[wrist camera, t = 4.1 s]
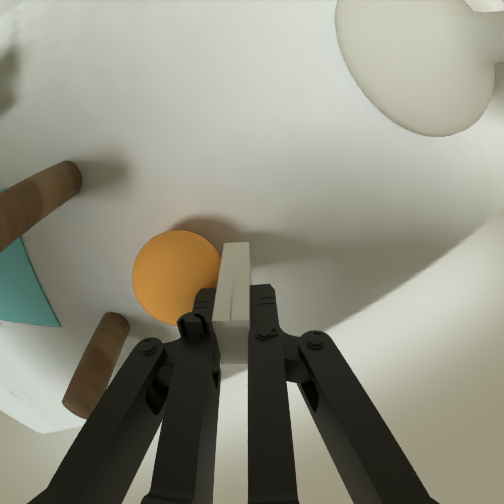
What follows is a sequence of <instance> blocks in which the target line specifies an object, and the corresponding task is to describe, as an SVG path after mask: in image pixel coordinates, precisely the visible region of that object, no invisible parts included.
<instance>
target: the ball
mask: <svg viewBox="0 0 504 504" xmlns="http://www.w3.org/2000/svg"><path fill="white" fill-rule="evenodd" d="M221 259H222V258H221V256H220V254H219V253H218V251H217V250H216V248H215V247H214V246H213V245H212V244H211V243H210V242H209V241H208V240H206V239H205V238H204V237H202V236H200V235H198V234H195V233H193V232H189V231H182V230H174V231H168V232H165V233H162V234H159V235H157V236H156V237H154V238H152V239H151V240H150V241H148V242H147V243H146V244H145V245H144V246H143V248H142V249H141V250H140V252H139V254H138V255H137V257H136V260H135V263H134V266H133V272H132V283H133V289H134V292H135V295H136V297H137V299H138V301H139V303H140V304H141V306H142V307H143V308H144V309H145V311H146V312H147V313H149V314H150V315H151V316H152V317H154V318H155V319H157V320H159V321H161V322H164V323H167V324H170V325H177V323H176V322H177V320H178V319H179V318H180V317H181V316H182V315H183V314H186V313H188V312H192V309H193V305H194V300H195V296H196V294H197V293H198V292H199V291H200V289H201V288H217V284H218V277H219V271H220V265H221Z"/></svg>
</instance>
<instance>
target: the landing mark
mask: <svg viewBox="0 0 504 504" xmlns="http://www.w3.org/2000/svg"><path fill="white" fill-rule="evenodd" d="M5 190H6V189H3V190H1V191H0V193H1V192H3V191H5ZM0 320H4V321H10V322H17V323H25V324H33V325H42V326H51V327H61V325H60V323H59V322H58V320H57V318H56V316H55V314H54V312H53V310H52V308H51V306H50V304H49V302H48V300H47V298H46V296H45V294H44V292H43V290H42V288H41V286H40V284H39V281H38V279H37V277H36V275H35V272H34V270H33V268H32V265H31V263H30V260H29V258H28V255H27V253H26V250H25V247H24V245H23V242H22V239H21V236H20V237H19V238H18V239H16V240H15V241H14V242H13V243H12V244H10V245H9V246H8V247H7V248H6V249H5V250H3V251H2V252H1V253H0Z"/></svg>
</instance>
